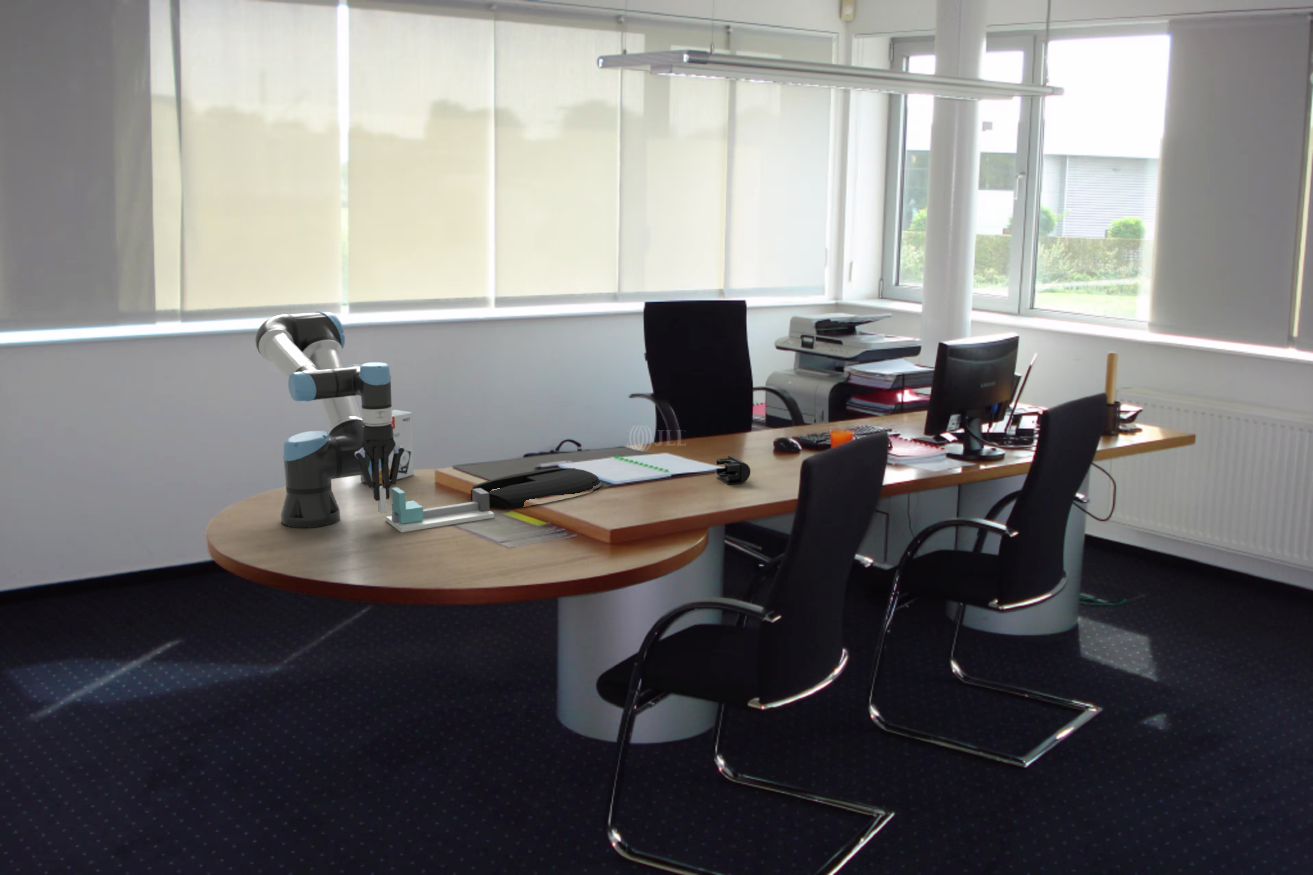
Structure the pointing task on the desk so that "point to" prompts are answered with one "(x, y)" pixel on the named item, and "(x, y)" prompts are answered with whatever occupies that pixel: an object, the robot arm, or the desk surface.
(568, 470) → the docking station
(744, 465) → the black plastic connector
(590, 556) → the desk surface
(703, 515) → the desk surface
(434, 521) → the rail board
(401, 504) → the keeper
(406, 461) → the hard drive box
